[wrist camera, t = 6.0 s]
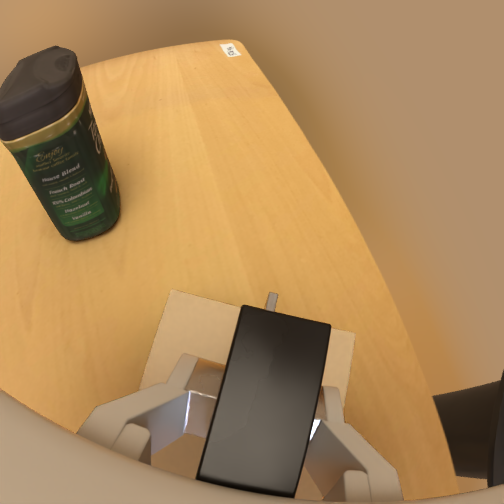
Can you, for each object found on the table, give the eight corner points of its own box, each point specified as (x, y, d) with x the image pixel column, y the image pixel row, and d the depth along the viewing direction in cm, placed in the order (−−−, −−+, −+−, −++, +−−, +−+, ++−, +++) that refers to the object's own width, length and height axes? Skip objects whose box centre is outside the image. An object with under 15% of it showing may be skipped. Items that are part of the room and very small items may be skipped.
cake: (172, 297, 28) (153, 253, 21) (344, 339, 28) (385, 309, 20) (123, 463, 21) (81, 480, 13) (308, 507, 20) (339, 541, 12)
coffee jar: (128, 229, 31) (67, 74, 15) (62, 252, 30) (-31, 121, 13) (117, 166, 35) (77, 29, 19) (60, 186, 34) (0, 62, 17)
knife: (246, 324, 19) (274, 177, 8) (275, 331, 19) (346, 196, 7) (204, 481, 14) (161, 601, 3) (236, 489, 14) (252, 618, 3)
